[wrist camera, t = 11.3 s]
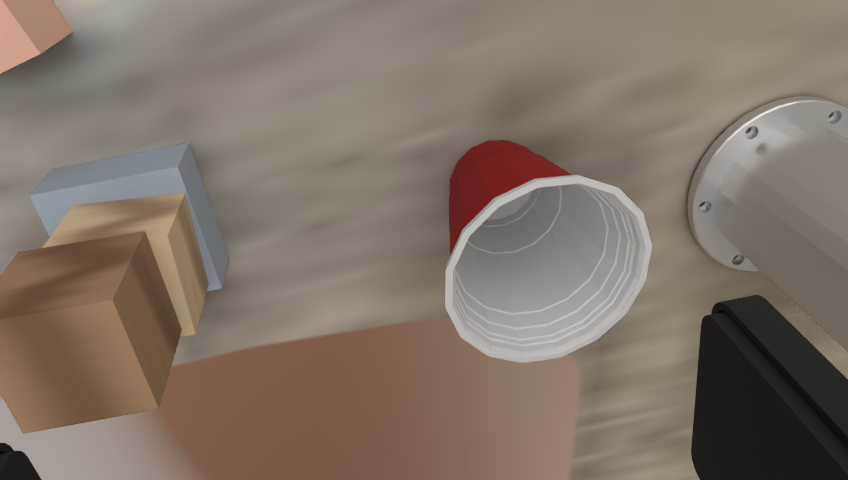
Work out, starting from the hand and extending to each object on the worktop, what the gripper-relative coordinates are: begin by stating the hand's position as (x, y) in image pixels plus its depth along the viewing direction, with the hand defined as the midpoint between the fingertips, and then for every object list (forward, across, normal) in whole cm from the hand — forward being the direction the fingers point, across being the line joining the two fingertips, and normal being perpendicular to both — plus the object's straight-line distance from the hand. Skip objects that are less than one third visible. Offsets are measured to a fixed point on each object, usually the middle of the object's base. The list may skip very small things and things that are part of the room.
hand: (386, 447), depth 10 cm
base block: (+33, +14, +10) cm, 37 cm away
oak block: (+29, +13, +10) cm, 33 cm away
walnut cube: (+24, +14, +10) cm, 29 cm away
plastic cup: (+32, -8, +12) cm, 36 cm away
